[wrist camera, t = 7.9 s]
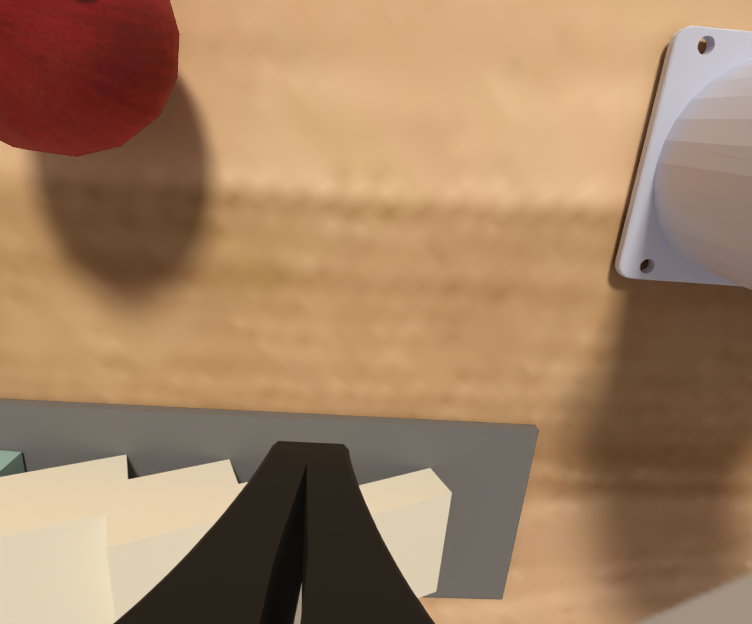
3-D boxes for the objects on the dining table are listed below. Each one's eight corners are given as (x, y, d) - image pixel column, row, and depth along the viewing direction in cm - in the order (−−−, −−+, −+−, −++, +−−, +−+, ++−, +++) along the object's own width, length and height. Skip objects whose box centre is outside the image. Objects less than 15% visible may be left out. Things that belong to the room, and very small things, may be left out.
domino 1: (127, 479, 19) (-166, 537, 16) (138, 582, 21) (-125, 655, 18) (126, 454, 21) (-145, 502, 17) (136, 553, 22) (-108, 615, 19)
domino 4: (451, 492, 20) (239, 551, 17) (436, 591, 22) (241, 662, 18) (430, 468, 21) (229, 516, 18) (417, 562, 23) (231, 624, 20)
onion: (5, -84, 15) (-353, -291, 7) (214, -48, 15) (79, -206, 8) (23, 132, 17) (-244, 145, 9) (207, 158, 17) (94, 190, 10)
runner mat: (535, 425, 21) (538, 430, 21) (499, 592, 24) (502, 599, 24) (-32, 397, 20) (-40, 402, 20) (6, 578, 23) (1, 585, 23)
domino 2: (238, 484, 19) (-28, 542, 16) (239, 585, 21) (-1, 659, 18) (229, 459, 21) (-18, 508, 17) (231, 556, 23) (7, 619, 19)
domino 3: (344, 488, 20) (106, 547, 16) (337, 588, 21) (120, 661, 18) (329, 463, 21) (106, 513, 18) (323, 559, 23) (119, 622, 19)
